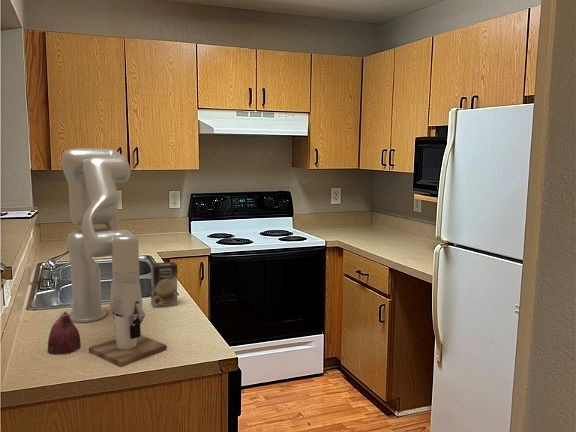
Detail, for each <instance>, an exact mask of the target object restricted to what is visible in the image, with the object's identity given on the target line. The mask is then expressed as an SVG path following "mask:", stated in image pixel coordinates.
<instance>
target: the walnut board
mask: <svg viewBox="0 0 576 432" xmlns="http://www.w3.org/2000/svg"><path fill="white" fill-rule="evenodd" d="M167 348H168V347H167V344H165V343H163V342H159V341H157V340H155V339H152V338H149V337H146V336H145V335H142V334H141V336H140V337H137V345H136V346H135V347H133V348H130V349H119V348H117V345H116V338H113V339H110V340H108V341H104V342H101V343H98V344H95V345H93V346H89V347H88V353H89V354H92V355H94V356H95V357H98V358H100V359H102V360H105V361H107V362H109V363H111V364H113V365H115V366H118V367H120V368H122V367H125V366H127V365H130V364H132V363H135V362H138V361H140V360H143V359H146V358H148V357H151V356H153V355H154V356H155V355H156V354H159V353H162V352H164V351H167V350H168V349H167Z"/></svg>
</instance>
